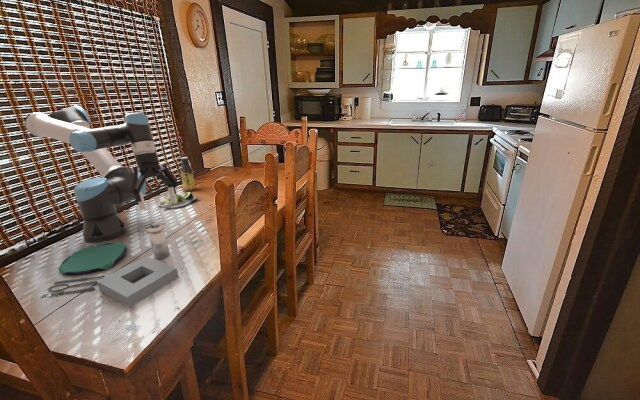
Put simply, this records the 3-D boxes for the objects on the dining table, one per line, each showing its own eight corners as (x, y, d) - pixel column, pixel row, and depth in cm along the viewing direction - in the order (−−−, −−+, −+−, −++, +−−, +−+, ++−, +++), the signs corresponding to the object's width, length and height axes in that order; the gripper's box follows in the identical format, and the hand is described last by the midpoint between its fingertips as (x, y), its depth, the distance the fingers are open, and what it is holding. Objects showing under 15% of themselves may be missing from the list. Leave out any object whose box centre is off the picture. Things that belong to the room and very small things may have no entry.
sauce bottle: (181, 191, 179) (175, 158, 172) (189, 188, 185) (183, 155, 177) (190, 192, 177) (183, 159, 170) (197, 189, 182) (192, 156, 175)
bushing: (149, 257, 111) (141, 228, 106) (164, 250, 116) (157, 221, 111) (160, 262, 108) (152, 231, 103) (175, 253, 113) (168, 224, 108)
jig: (99, 290, 93) (96, 281, 92) (148, 264, 106) (146, 256, 105) (129, 307, 86) (126, 297, 85) (178, 277, 99) (176, 268, 98)
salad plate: (176, 213, 150) (174, 204, 148) (148, 209, 156) (146, 200, 154) (202, 199, 167) (201, 191, 165) (177, 196, 172) (175, 188, 171)
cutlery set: (135, 244, 121) (134, 239, 120) (101, 292, 94) (98, 286, 93) (80, 250, 118) (78, 245, 117) (27, 302, 90) (24, 296, 89)
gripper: (118, 153, 107) (134, 212, 109) (178, 150, 128) (191, 198, 131) (106, 157, 110) (122, 214, 113) (167, 153, 132) (179, 200, 134)
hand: (159, 206), depth 122 cm, fingers open, 13 cm apart
